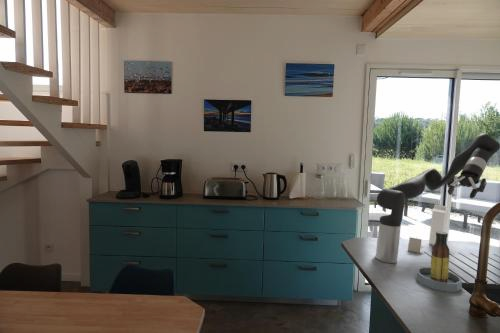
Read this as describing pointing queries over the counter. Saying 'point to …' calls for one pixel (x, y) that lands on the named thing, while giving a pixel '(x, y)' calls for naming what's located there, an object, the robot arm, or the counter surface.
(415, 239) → the beige square block
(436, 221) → the milk
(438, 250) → the sauce bottle
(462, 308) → the counter surface
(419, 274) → the round grey tray
